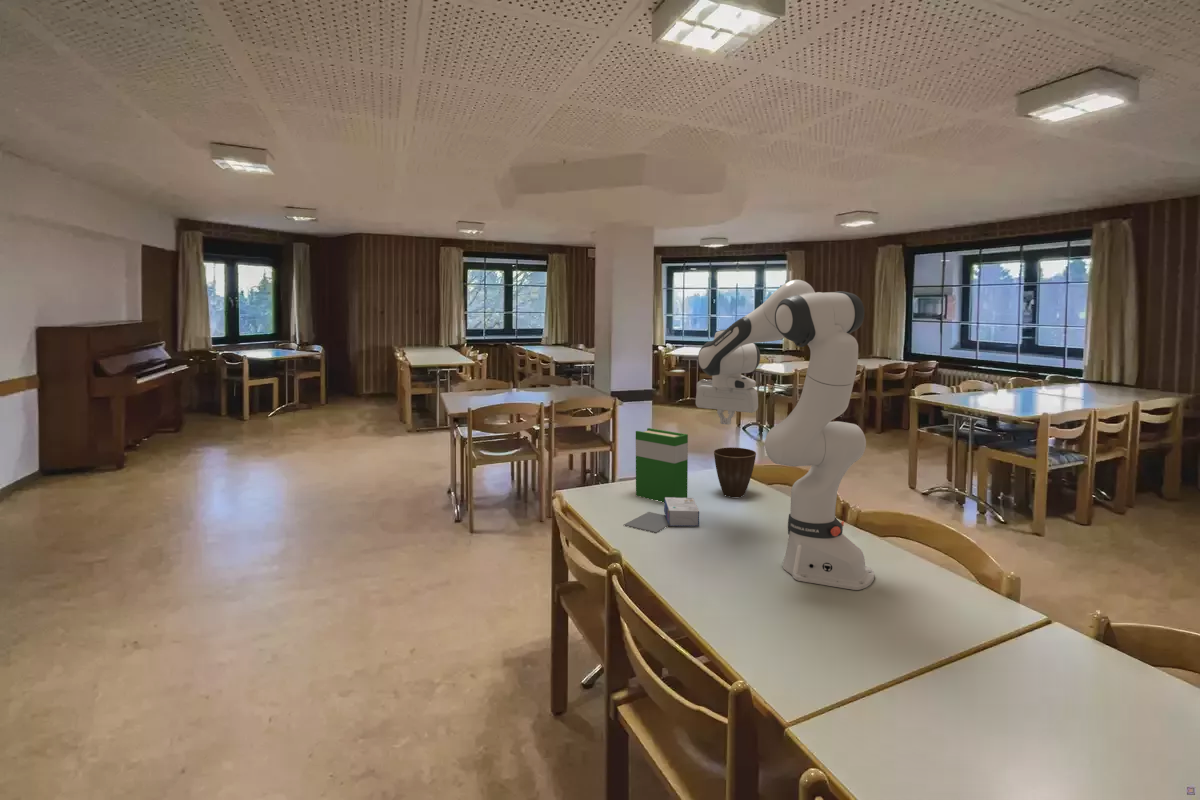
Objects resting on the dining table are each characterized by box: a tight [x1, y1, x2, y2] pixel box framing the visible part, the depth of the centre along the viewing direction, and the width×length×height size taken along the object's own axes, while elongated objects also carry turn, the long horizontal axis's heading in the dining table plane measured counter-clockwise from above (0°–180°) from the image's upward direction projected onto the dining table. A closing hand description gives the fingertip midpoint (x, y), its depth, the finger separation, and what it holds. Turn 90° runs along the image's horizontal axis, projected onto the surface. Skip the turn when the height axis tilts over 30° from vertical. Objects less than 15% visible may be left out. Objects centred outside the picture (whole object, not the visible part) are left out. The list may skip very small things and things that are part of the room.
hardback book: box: [635, 427, 689, 503], centre depth 229 cm, size 18×7×24 cm, turn 46°
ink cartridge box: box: [663, 497, 700, 527], centre depth 207 cm, size 10×6×14 cm
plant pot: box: [713, 446, 757, 498], centre depth 232 cm, size 15×15×16 cm
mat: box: [623, 511, 669, 534], centre depth 205 cm, size 12×15×1 cm
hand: (725, 423), depth 204 cm, fingers closed
